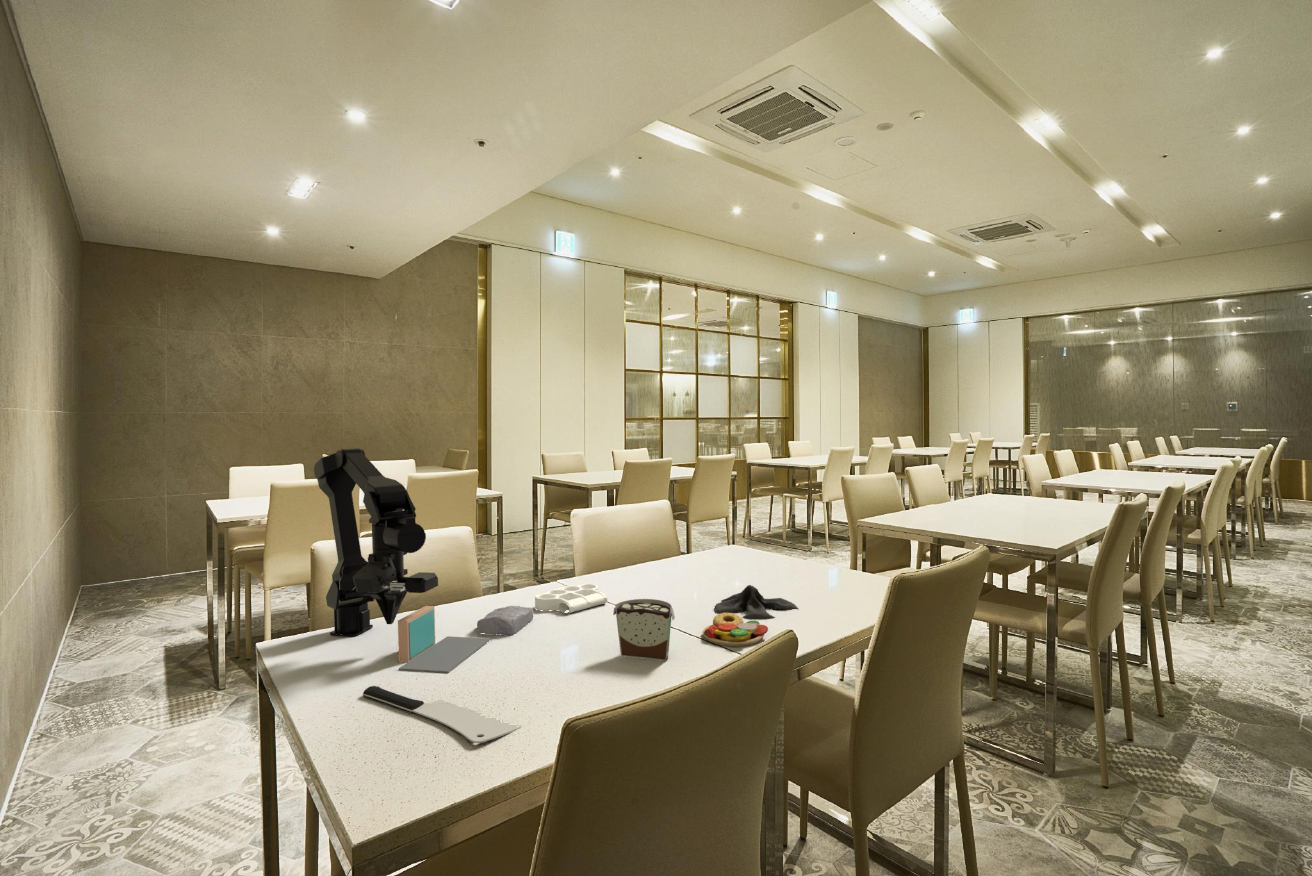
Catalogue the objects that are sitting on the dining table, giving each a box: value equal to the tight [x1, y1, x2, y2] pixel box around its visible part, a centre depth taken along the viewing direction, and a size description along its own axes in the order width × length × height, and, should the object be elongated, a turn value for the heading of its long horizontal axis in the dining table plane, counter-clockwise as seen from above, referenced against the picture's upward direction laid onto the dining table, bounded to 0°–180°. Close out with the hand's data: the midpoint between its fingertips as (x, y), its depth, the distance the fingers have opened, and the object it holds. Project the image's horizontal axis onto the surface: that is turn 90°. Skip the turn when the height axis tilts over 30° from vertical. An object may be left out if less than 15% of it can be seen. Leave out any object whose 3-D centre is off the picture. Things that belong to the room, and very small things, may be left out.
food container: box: [612, 598, 676, 662], centre depth 126 cm, size 12×6×10 cm, turn 71°
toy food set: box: [702, 613, 769, 647], centre depth 135 cm, size 13×13×3 cm
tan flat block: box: [397, 605, 436, 663], centre depth 128 cm, size 2×10×8 cm, turn 169°
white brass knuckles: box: [534, 583, 608, 615], centre depth 161 cm, size 3×18×15 cm
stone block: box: [476, 605, 534, 636], centre depth 144 cm, size 12×5×10 cm
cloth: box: [714, 584, 799, 620], centre depth 156 cm, size 22×19×6 cm
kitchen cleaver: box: [362, 685, 522, 744], centre depth 102 cm, size 31×2×10 cm
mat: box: [398, 635, 492, 674], centre depth 127 cm, size 10×18×1 cm, turn 169°
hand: (390, 623), depth 130 cm, fingers closed
